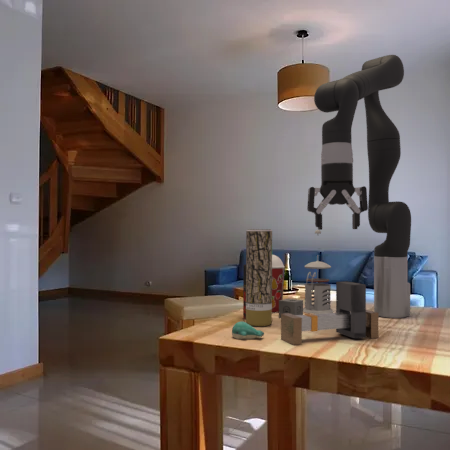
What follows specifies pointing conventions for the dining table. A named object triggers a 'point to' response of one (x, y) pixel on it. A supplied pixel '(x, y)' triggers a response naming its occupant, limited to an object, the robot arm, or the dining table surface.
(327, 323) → the grey bar with endplates
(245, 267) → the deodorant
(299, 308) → the grey cube
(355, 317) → the collar
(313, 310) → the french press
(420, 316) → the dining table surface
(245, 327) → the whale figurine
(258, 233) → the paper tube
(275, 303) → the smoothie
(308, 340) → the dining table surface
